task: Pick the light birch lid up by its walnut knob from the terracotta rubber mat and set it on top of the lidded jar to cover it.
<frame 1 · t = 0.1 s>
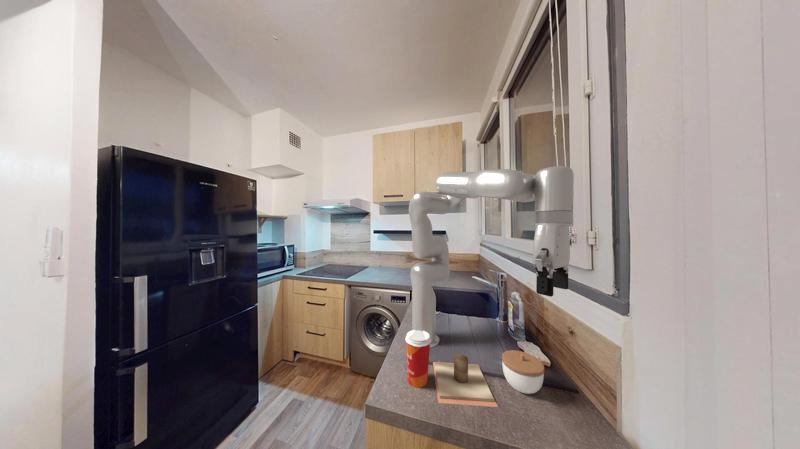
hand: (552, 291, 52), 31 cm above the countertop, tool pointing down, fingers open, 9 cm apart
birch lid: (460, 381, 64), point 1 cm above the countertop, touching terracotta mat
paper cup: (417, 383, 64), on the countertop
terracotta mat: (460, 383, 64), on the countertop
lidded jar: (522, 388, 63), on the countertop
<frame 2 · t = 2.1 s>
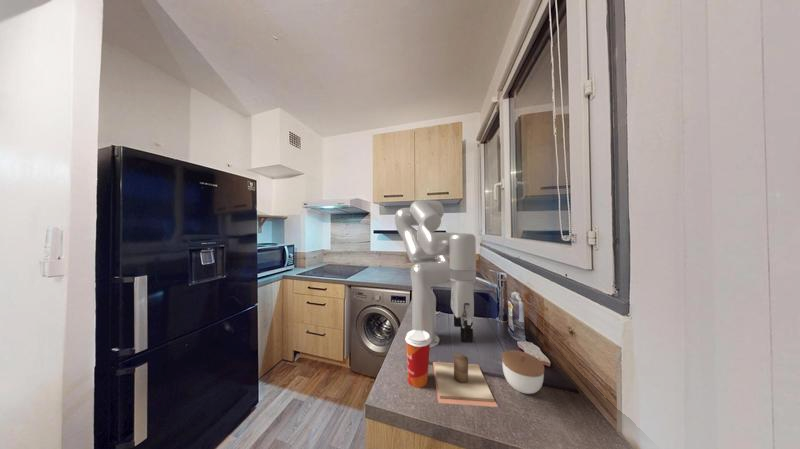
hand: (462, 333, 63), 15 cm above the countertop, tool pointing down, fingers open, 9 cm apart
nothing on the countertop moved.
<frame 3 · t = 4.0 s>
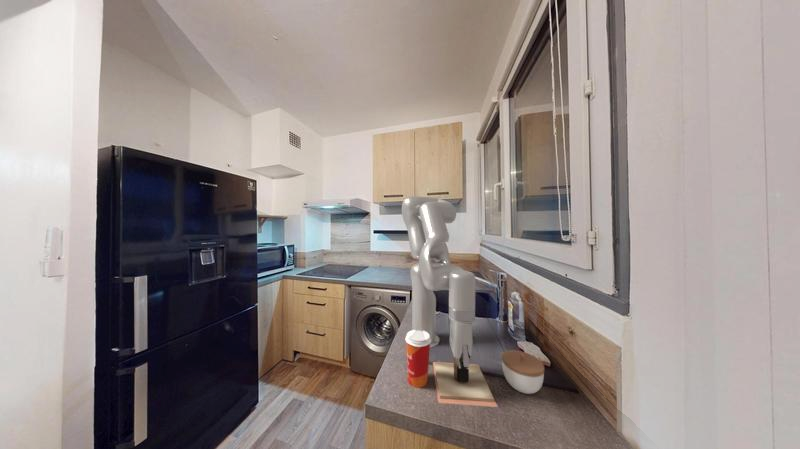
hand: (460, 374, 64), 3 cm above the countertop, tool pointing down, fingers closed on birch lid, 4 cm apart
birch lid: (460, 381, 64), point 1 cm above the countertop, touching gripper, terracotta mat
everything else where it was.
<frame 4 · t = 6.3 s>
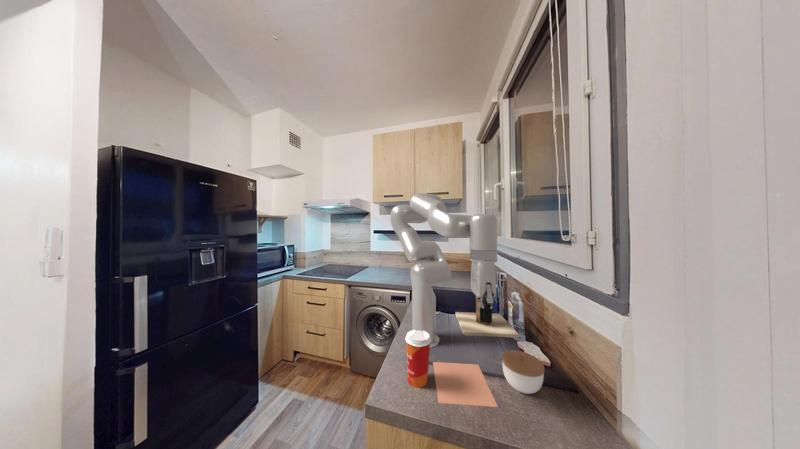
hand: (483, 318, 63), 20 cm above the countertop, tool pointing down, fingers closed on birch lid, 4 cm apart
birch lid: (483, 324, 63), point 18 cm above the countertop, touching gripper
everything else where it was.
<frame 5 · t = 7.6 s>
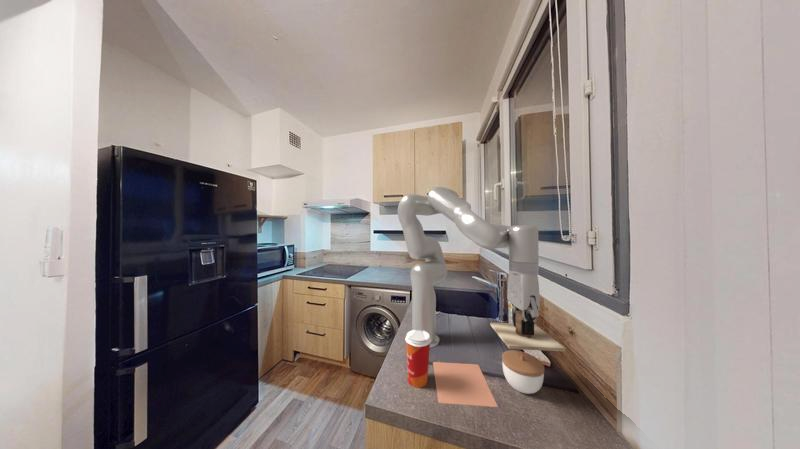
hand: (523, 330, 63), 17 cm above the countertop, tool pointing down, fingers closed on birch lid, 4 cm apart
birch lid: (523, 336, 63), point 15 cm above the countertop, touching gripper
everything else where it was.
when the fingers open (12 cm above the countertop, at t = 8.6 s): birch lid stays where it is, resting on lidded jar.
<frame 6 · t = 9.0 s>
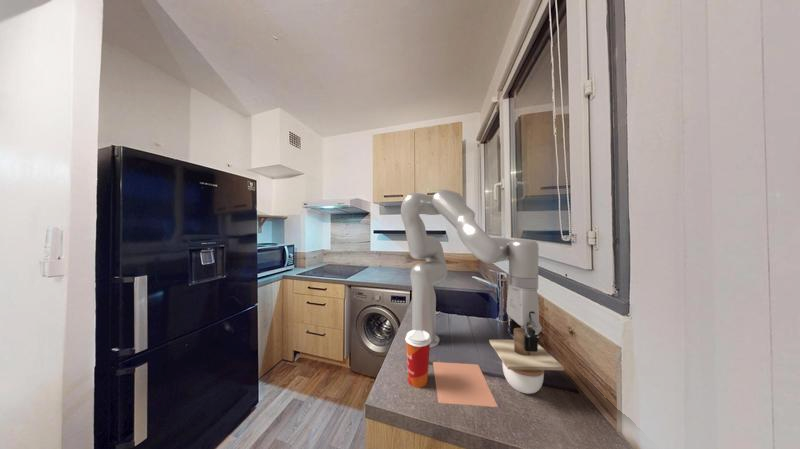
hand: (522, 341, 63), 13 cm above the countertop, tool pointing down, fingers open, 8 cm apart
birch lid: (522, 354, 63), point 9 cm above the countertop, touching lidded jar
lidded jar: (522, 388, 63), on the countertop, touching birch lid
everything else where it was.
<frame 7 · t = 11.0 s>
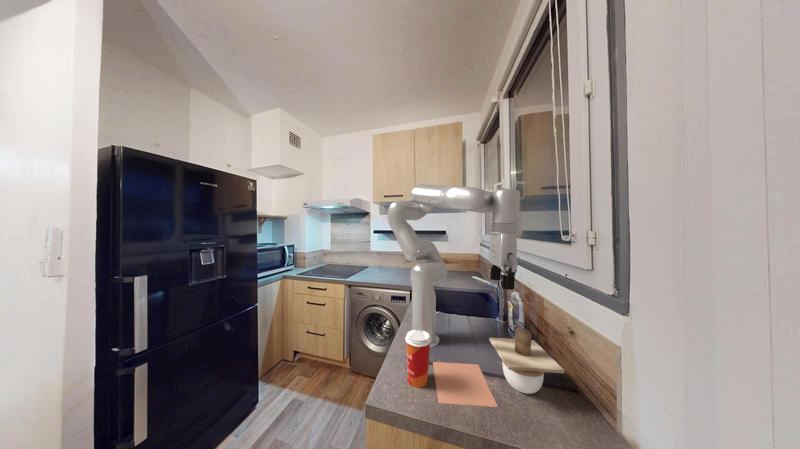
hand: (501, 284, 67), 29 cm above the countertop, tool pointing down, fingers open, 9 cm apart
nothing on the countertop moved.
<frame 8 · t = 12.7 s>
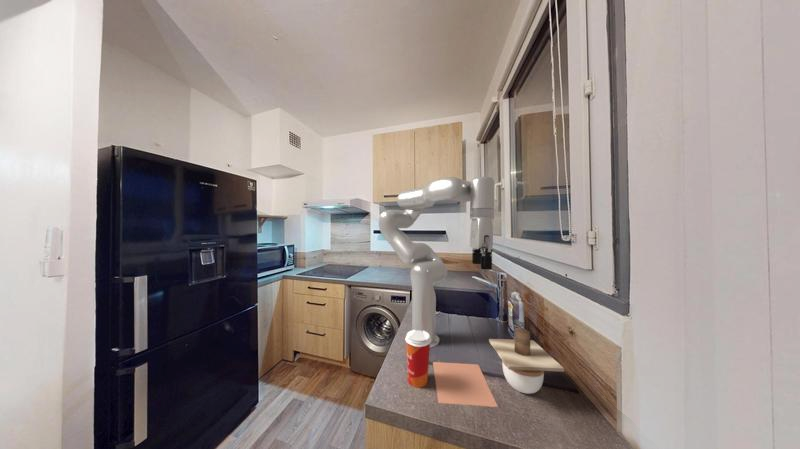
hand: (481, 266, 72), 33 cm above the countertop, tool pointing down, fingers open, 9 cm apart
nothing on the countertop moved.
at the end: birch lid 0.0 cm off-centre on the lidded jar, point 9.6 cm above the lidded jar's base; the gripper is holding nothing; lidded jar tilted 0° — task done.
